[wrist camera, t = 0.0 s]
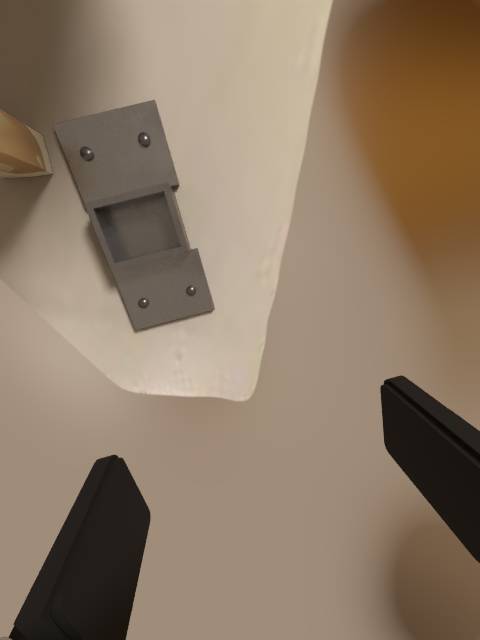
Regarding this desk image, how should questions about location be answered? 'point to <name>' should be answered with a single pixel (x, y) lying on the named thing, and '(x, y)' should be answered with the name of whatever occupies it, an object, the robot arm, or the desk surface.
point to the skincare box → (21, 150)
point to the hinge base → (136, 211)
